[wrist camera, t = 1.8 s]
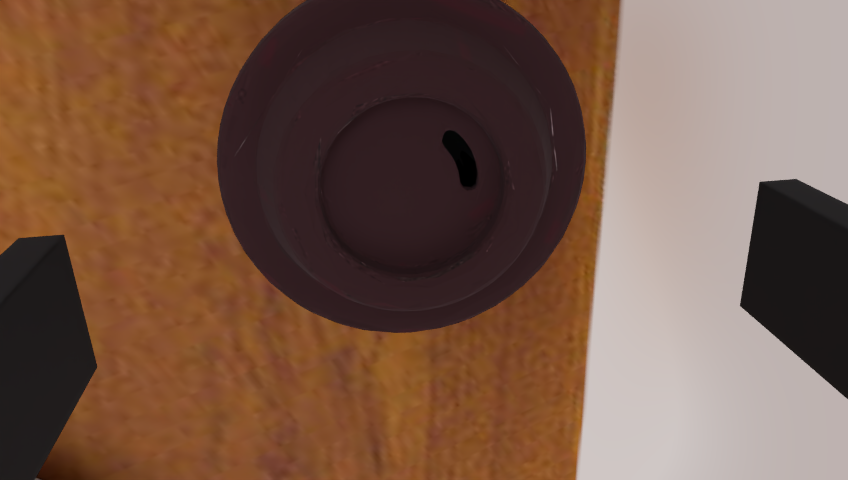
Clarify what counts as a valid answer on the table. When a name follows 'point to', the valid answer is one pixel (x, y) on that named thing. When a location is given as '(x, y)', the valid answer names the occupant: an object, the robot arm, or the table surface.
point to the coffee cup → (401, 158)
